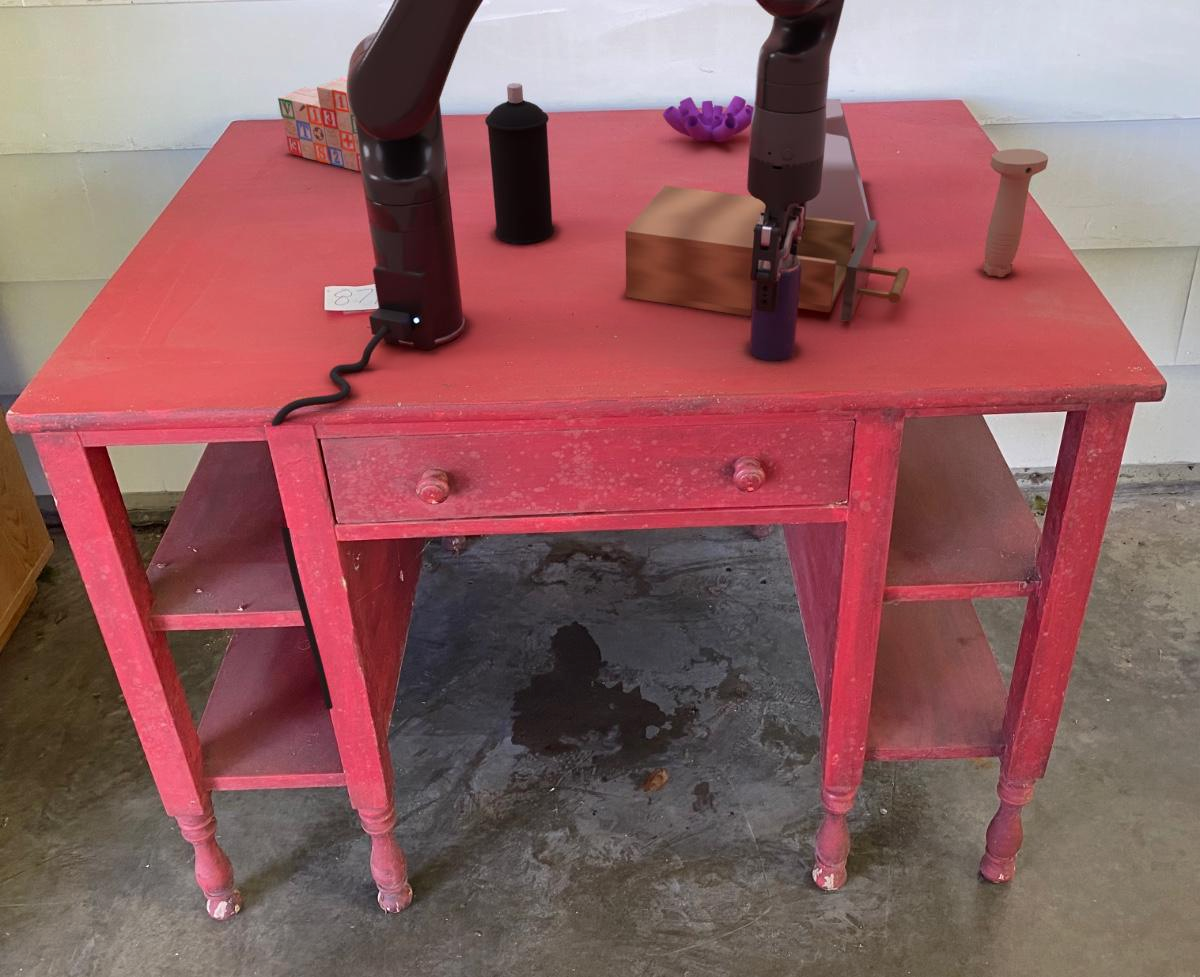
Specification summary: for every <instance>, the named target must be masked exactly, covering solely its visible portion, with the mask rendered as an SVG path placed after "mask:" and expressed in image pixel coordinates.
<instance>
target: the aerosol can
mask: <svg viewBox="0 0 1200 977" xmlns="http://www.w3.org/2000/svg"><path fill="white" fill-rule="evenodd" d="M506 90H507V91H506V92H507V100H506V101H505V102H502V103H500V104H498V105H496V106H495V107H494V108H493V109H492V110H491V111H490V112H489V114H488V115H486V117H485V120H484V122H485V125H486V126H487V132H488V144H489V146H488V147H489V158H490V167H491V168H490V169H491V179H492V190H493V202H494V213H495V226H496V228H495V230H494V234H495V237H496V238H497V239H498V240H500V241H501V242H504V243H506V244H510V245H521V246H522V245H532V244H537V243H541V242H544V241H546V240H548V239H549V238H551V237H553V235H554V234H555V226H554V225H553V212H552V211H553V210H552V196H551V195H552V194H551V175H550V156H549V140H548V139H549V138H548V122H549V115H548V114H547V113H546V112H544V111H543V109H542V108H541V107H539V106H538V105H537V104H535V103H533V102H530V101H528V100H524V93H523V92H524V90H523V85H522V84H521V83H517V82H516V83H515V82H514V83H509V84H507V85H506Z"/></svg>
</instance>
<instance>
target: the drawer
mask: <svg viewBox="0 0 1200 977" xmlns="http://www.w3.org/2000/svg"><path fill="white" fill-rule="evenodd" d="M878 223H879V221H878V220H875V219H870V220H868V221H867V223H866V225H865V228H864V230H863V232H862V234H861V236H860V238H859V241H858V243H857V245H856V247H855V249H852V244H853V236H854V227H855V222H847V221H839V220H830V219H822V218H814V217H806V216H805V230H804V232H803V233H802V234H801V242H800V243H799V245H798V249H797V257H798V258H799V260H800V262H801V265H802V268H801V279H800V290H799V301H798V309H804V310H810V311H816V312H823V313H831V311H832V309H833V306H834V305H835V302H836V300H837V298H838V296H839V294H840V291H841V289H842V287H843V294H842V301H841V302H842V303H841V310H840V321H841V322H842V321H843V322H850V323H851V322H852V319H853V317H854V314H855V312H856V309H857V307H858V305H859V302H860V301H861V298H862V296H866V297H873V298H881V299H887V300H888V301H889V302H890V303H891V304H898V303H899V302H900V301H901V298H902V295H903V293H904V290H905V288H906V284H907V282H908V279H909V277H910V269H909V268H907V267H905V266H903V267H900V268H898V270H897V269H889V268H881V267H874V266H873V261H874V255H875V254H874V253H875V250H874V247H875V246H876V240H877V232H878ZM871 274H872V275H881V276H889V277H894V280H893V283H892V285H891V288H890V290H889V291H883V290H876V289H869V288H866V285H867V283H868V281H869V278H870V277H871Z"/></svg>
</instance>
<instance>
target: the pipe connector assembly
mask: <svg viewBox="0 0 1200 977" xmlns="http://www.w3.org/2000/svg"><path fill="white" fill-rule="evenodd" d="M746 103H747V100H746V99H745V98H743V97H741V96H738V95H734V96H733V97H732V99H731V100H730V102H729V104H728V105H727V107H726V108H725V110H724V108H723V105H717V104H716V105H715V104H713V101H712V100H703V101H702V102H701V111H700V110H699V109H698V107H697V106H696V103H695V102H694V100H693V98H692V97H691V96H689V97H686V98H684V99H681V101H679V105H678V106H677V107H675V106H674V105H671V106H668V108H666V109H665V110H664V112H663V113H662V117H663V119H664V120H665V122H666V123H667V124H668V126H670V127H671V128H672V129H673V130H675V131H676V132H678V133H680V134H682V135H684V136H687V137H691V138H693V139H694V140H695V141H699V142H706V143H707V142H709V143H711V142H713V143H724V142H728V141H729V140H730V139H732V138H733V137H734V136H735V135H737V134H740V133H742V132H743V131H745V130H746V129H747V128H748V127H749V126H751V120H752V115H753V110H754V106H752V105H750V104H746Z"/></svg>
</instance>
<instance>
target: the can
mask: <svg viewBox="0 0 1200 977" xmlns="http://www.w3.org/2000/svg"><path fill="white" fill-rule="evenodd" d="M770 267H771V263H770V262H769V261H764V265H763V268H768V269H770ZM801 268H802V265H801V262H800V260H799V258H798V257H796V256H795V255H793V254H790V253H789V257H788V259H787V260H785V261H783V264H782V268H781V273H780V274H781V277H780V278H779V289H778V302H777V308H776V310H775V311H774V312H773V313H770V312H764V311H758V310H757V309H756V307H755V304H756V289H757V281H754V287H753V303H752V315H751V319H750V320H751V322H750V338H749V352H750V353H751V355H752V356H754V357H755V358H757V359H760V360H763V361H768V362H778V361H779V362H780V361H784V360H786V359H787V360H788V359H789V358H790V357H792V356H793V355H794V352H795V346H796V345H795V344H796V335H797V325H798V324H797V322H798V311H799V308H798V301H799V290H800V279H801Z"/></svg>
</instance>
